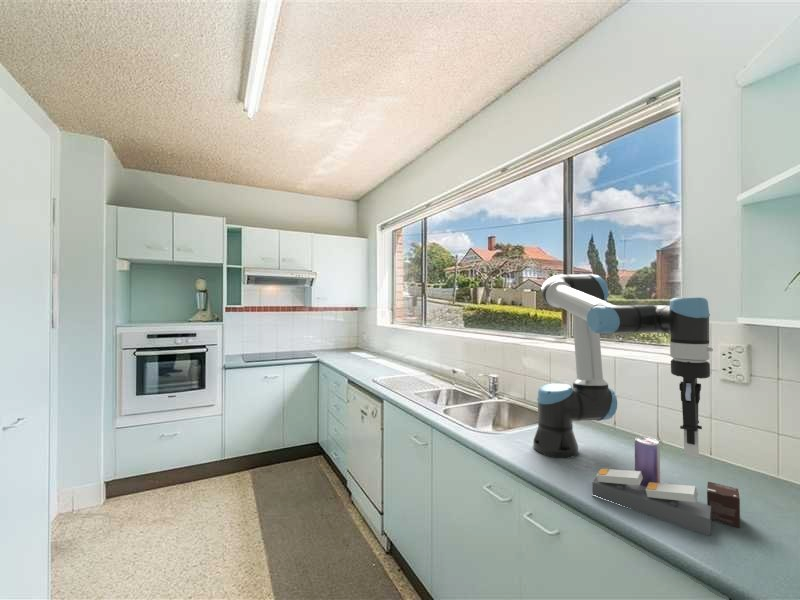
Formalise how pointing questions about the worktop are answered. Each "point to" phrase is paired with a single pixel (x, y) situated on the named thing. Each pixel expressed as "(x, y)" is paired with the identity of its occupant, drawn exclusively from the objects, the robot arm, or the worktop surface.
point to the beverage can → (647, 459)
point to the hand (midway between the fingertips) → (691, 455)
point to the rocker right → (672, 492)
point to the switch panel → (656, 505)
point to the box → (724, 504)
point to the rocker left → (620, 476)
